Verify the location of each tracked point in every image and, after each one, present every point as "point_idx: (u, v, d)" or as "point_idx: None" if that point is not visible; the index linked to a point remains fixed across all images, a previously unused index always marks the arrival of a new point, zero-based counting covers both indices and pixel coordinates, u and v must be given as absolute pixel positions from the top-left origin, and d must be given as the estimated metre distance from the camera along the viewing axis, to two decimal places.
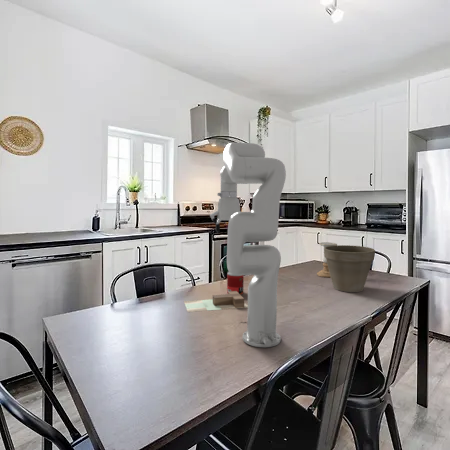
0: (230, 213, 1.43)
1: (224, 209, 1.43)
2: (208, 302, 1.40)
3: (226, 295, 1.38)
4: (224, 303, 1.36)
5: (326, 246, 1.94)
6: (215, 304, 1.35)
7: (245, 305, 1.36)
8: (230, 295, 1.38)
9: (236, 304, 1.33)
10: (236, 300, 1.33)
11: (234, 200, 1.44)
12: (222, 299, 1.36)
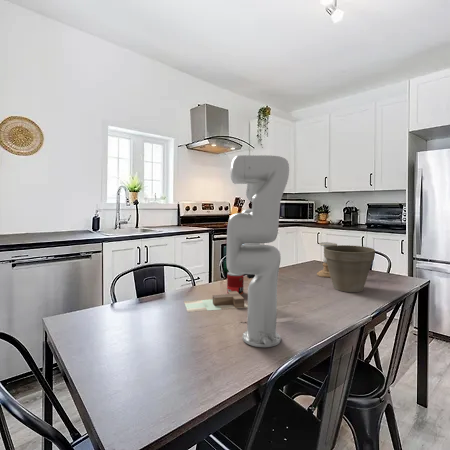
0: None
1: None
2: (208, 302, 1.40)
3: (226, 295, 1.38)
4: (224, 303, 1.36)
5: (326, 246, 1.94)
6: (215, 304, 1.35)
7: (245, 305, 1.36)
8: (230, 295, 1.38)
9: (236, 304, 1.33)
10: (236, 300, 1.33)
11: None
12: (222, 299, 1.36)
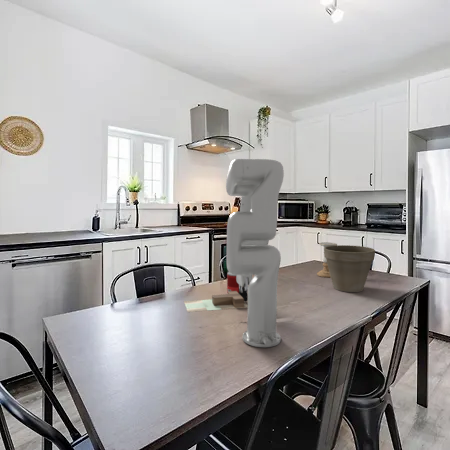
0: None
1: None
2: (208, 302, 1.40)
3: (226, 295, 1.38)
4: (224, 303, 1.36)
5: (326, 246, 1.94)
6: (215, 304, 1.35)
7: (245, 305, 1.36)
8: (230, 295, 1.38)
9: (236, 304, 1.33)
10: (236, 300, 1.33)
11: None
12: (222, 299, 1.36)
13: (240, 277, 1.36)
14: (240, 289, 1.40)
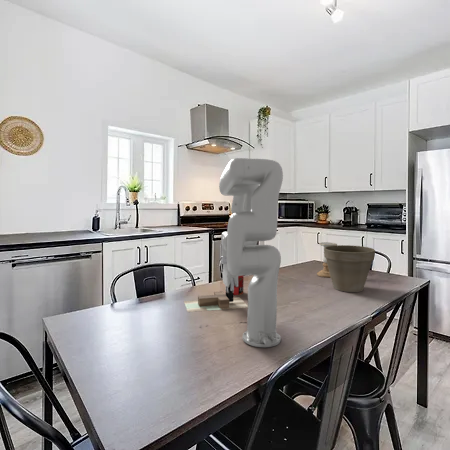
0: None
1: None
2: None
3: (211, 296, 1.37)
4: (209, 304, 1.35)
5: (326, 246, 1.94)
6: (200, 305, 1.34)
7: (245, 305, 1.36)
8: (215, 296, 1.37)
9: (221, 305, 1.32)
10: (221, 301, 1.32)
11: None
12: (207, 300, 1.35)
13: (226, 277, 1.35)
14: (226, 289, 1.39)
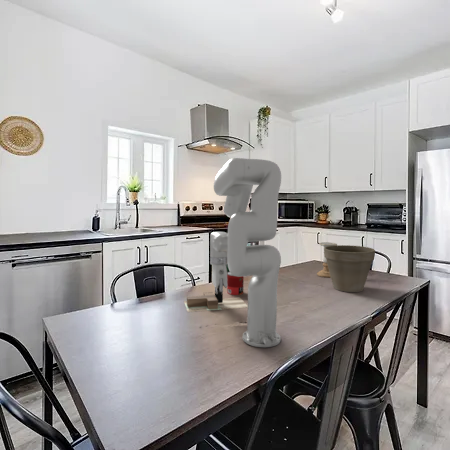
0: None
1: None
2: None
3: (200, 296, 1.36)
4: (198, 305, 1.34)
5: (326, 246, 1.94)
6: (188, 306, 1.33)
7: (245, 305, 1.36)
8: (204, 296, 1.36)
9: (209, 306, 1.31)
10: (209, 302, 1.31)
11: None
12: (196, 301, 1.33)
13: (215, 278, 1.33)
14: (215, 290, 1.38)
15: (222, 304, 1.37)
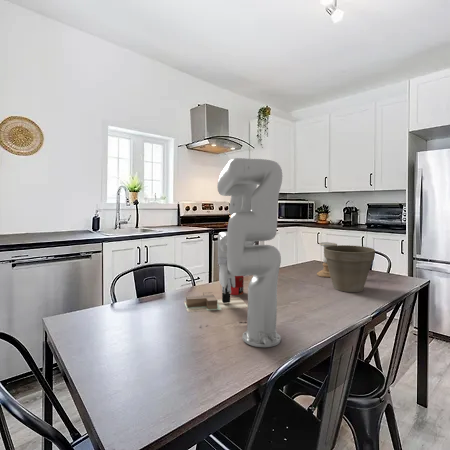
0: None
1: None
2: None
3: (200, 297, 1.36)
4: (197, 305, 1.34)
5: (326, 246, 1.94)
6: (188, 306, 1.33)
7: (245, 305, 1.36)
8: (204, 296, 1.36)
9: (209, 306, 1.31)
10: (209, 302, 1.31)
11: None
12: (195, 301, 1.33)
13: (223, 278, 1.34)
14: (223, 290, 1.38)
15: (222, 304, 1.37)
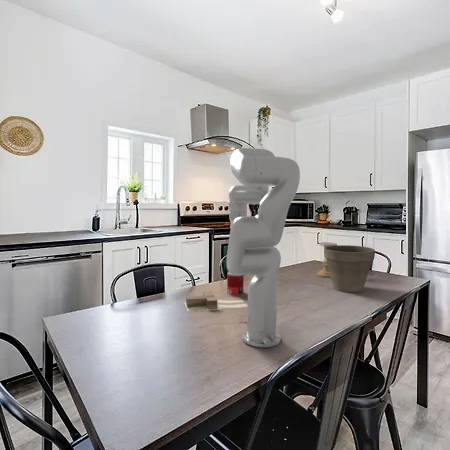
0: None
1: None
2: None
3: (200, 297, 1.36)
4: (197, 305, 1.34)
5: (326, 246, 1.94)
6: (188, 306, 1.33)
7: (245, 305, 1.36)
8: (204, 296, 1.36)
9: (209, 306, 1.31)
10: (209, 302, 1.31)
11: None
12: (195, 301, 1.33)
13: None
14: None
15: (222, 304, 1.37)
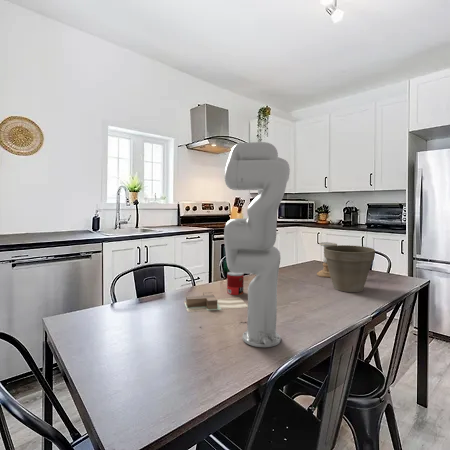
0: None
1: None
2: None
3: (200, 297, 1.36)
4: (197, 305, 1.34)
5: (326, 246, 1.94)
6: (188, 306, 1.33)
7: (245, 305, 1.36)
8: (204, 296, 1.36)
9: (209, 306, 1.31)
10: (209, 302, 1.31)
11: None
12: (195, 301, 1.33)
13: None
14: None
15: (222, 304, 1.37)
